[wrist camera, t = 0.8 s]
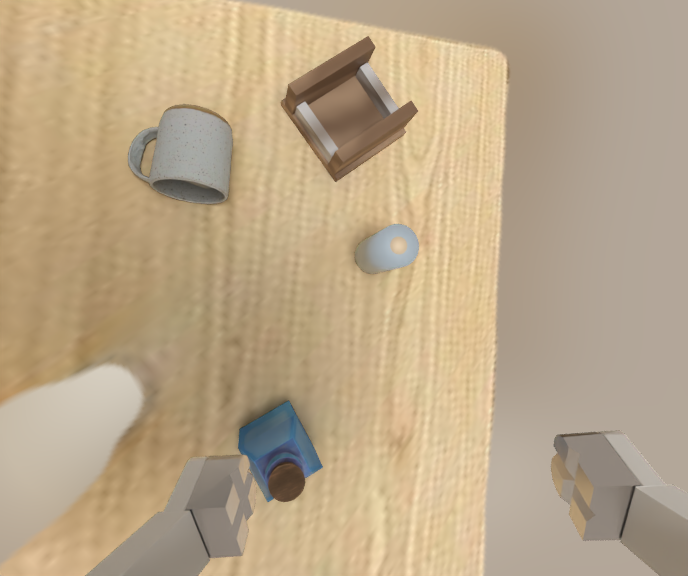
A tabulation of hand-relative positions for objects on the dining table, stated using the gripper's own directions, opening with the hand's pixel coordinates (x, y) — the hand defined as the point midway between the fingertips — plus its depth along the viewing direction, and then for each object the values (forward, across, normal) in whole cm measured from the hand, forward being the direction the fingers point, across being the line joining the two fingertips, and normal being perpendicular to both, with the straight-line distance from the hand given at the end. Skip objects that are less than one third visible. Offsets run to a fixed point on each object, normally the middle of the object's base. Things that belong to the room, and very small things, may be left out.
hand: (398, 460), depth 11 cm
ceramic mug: (+38, +20, -4) cm, 43 cm away
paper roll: (+39, 0, +9) cm, 40 cm away
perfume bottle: (+27, +13, +25) cm, 39 cm away
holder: (+46, +2, -7) cm, 46 cm away
